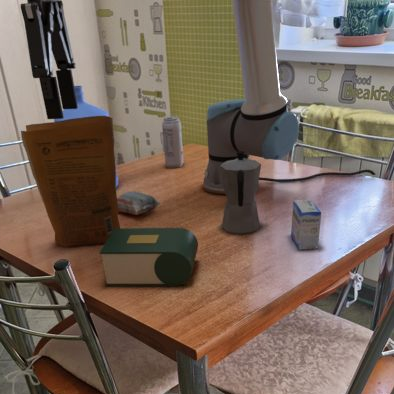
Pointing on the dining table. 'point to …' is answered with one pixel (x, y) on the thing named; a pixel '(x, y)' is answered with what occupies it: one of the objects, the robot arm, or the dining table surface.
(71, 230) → the pancake mix bag
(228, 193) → the coffeepot
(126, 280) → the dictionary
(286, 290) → the dining table surface
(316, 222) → the medicine box
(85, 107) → the water jug
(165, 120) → the energy drink can
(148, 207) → the packaged food
